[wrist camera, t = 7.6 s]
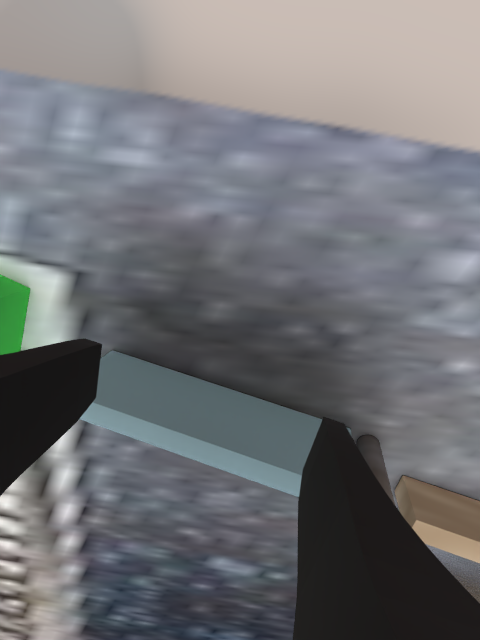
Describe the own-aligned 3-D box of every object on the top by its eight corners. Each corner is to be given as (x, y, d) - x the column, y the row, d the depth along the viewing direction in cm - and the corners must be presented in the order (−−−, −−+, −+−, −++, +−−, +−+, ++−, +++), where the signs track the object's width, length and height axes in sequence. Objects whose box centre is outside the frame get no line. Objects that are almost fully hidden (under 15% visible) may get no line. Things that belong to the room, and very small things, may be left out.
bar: (343, 445, 17) (350, 515, 13) (110, 367, 18) (56, 411, 14) (350, 428, 16) (359, 495, 13) (112, 350, 18) (57, 390, 14)
